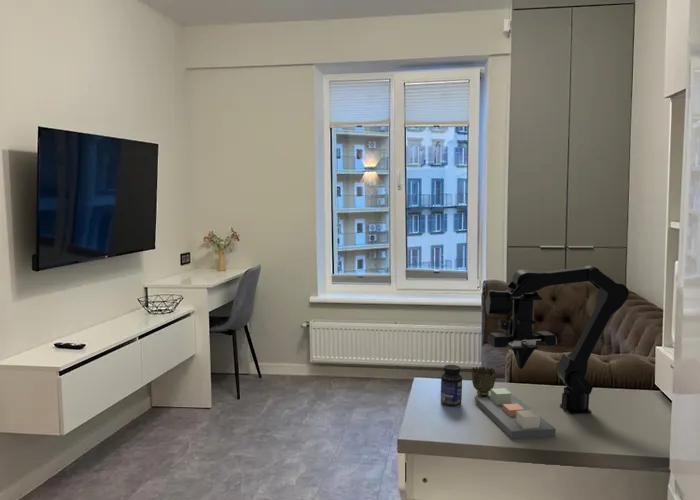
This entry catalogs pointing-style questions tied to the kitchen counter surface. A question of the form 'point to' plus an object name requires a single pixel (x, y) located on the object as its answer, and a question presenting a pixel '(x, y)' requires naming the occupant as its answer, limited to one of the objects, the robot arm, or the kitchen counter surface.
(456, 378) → the pill bottle
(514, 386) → the kitchen counter surface
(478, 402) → the button board
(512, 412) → the terracotta button
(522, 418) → the cream button
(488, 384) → the cup
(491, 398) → the sage button
